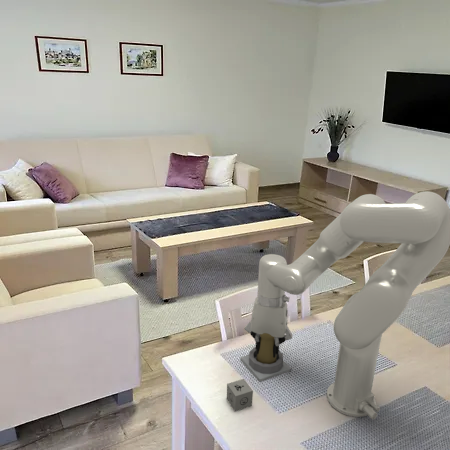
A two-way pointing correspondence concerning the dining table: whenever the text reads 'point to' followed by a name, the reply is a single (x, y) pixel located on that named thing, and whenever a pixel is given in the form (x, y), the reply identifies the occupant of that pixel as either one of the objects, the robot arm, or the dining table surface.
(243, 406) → the dice cube
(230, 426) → the dining table surface
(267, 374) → the ring board
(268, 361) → the brown round-headed peg
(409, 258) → the robot arm
